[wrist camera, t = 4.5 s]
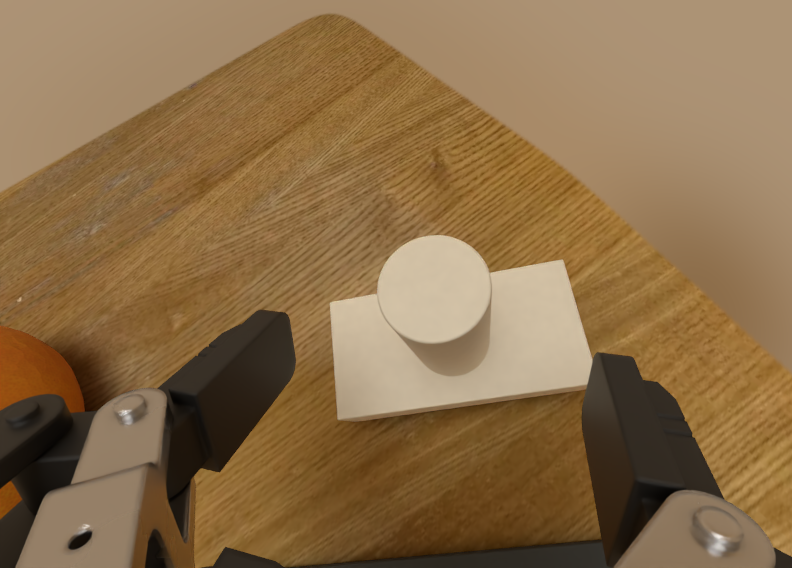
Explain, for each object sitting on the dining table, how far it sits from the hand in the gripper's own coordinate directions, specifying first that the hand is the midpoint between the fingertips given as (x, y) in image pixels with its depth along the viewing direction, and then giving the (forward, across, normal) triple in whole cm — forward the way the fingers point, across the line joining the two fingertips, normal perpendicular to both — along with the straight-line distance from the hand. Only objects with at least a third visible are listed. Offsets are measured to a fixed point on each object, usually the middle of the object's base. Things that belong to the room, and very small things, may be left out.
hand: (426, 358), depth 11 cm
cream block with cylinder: (+7, 0, +5) cm, 9 cm away
